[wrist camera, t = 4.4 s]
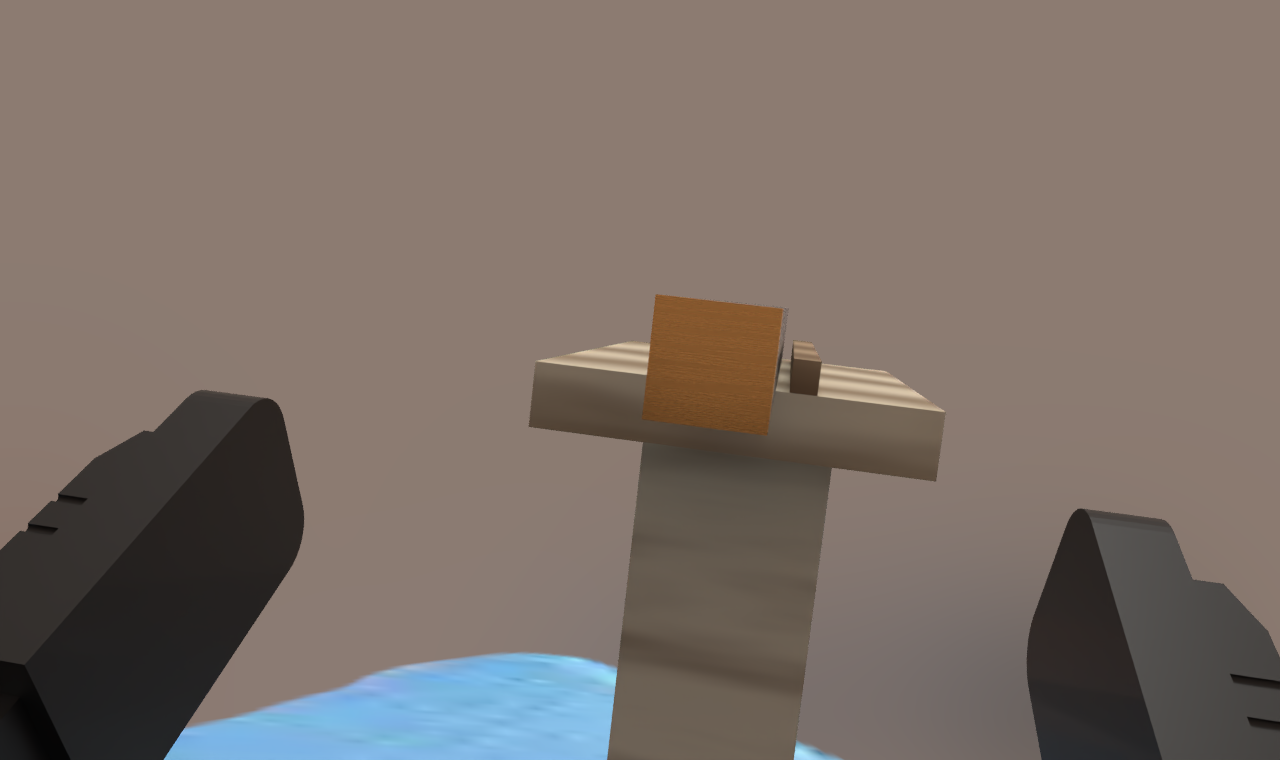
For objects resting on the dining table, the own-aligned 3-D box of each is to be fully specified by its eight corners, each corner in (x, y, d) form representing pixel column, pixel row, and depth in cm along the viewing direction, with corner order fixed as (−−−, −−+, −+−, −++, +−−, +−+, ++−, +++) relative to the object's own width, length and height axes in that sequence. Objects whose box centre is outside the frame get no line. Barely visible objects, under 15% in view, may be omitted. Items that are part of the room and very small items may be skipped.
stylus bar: (767, 435, 19) (783, 309, 18) (642, 419, 19) (655, 294, 19) (781, 361, 44) (788, 307, 44) (728, 355, 45) (735, 301, 44)
